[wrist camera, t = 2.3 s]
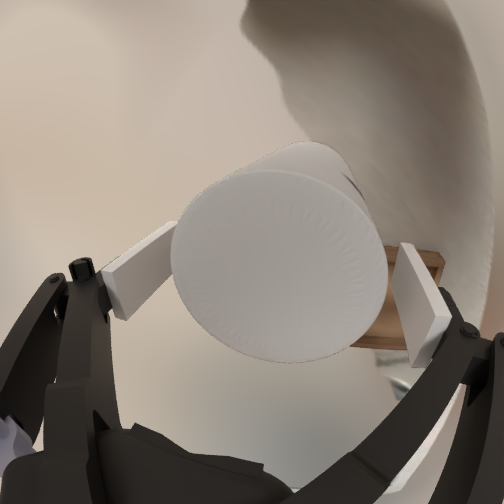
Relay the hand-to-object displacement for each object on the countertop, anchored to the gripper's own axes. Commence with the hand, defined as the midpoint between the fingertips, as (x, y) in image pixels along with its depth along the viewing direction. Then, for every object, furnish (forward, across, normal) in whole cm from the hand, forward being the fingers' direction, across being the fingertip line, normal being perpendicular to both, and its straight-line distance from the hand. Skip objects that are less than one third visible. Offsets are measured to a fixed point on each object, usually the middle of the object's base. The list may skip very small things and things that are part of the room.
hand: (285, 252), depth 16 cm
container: (+16, 0, 0) cm, 16 cm away
